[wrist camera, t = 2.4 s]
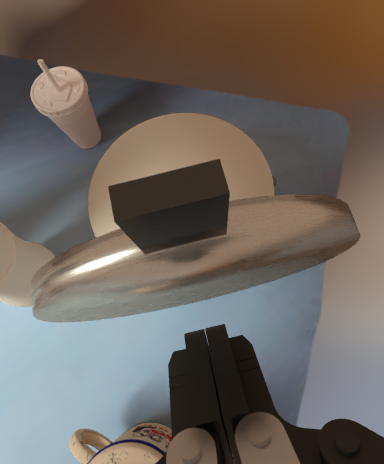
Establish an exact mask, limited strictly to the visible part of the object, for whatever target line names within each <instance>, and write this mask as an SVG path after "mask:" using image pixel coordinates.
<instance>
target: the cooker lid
mask: <svg viewBox="0 0 384 464" xmlns="http://www.w3.org/2000/svg"><path fill="white" fill-rule="evenodd" d="M108 189H109V195H110V200H111V206H112V212H113V217H114V222H115V223H116V224H117V225H118V226H119V227H120V229H117V230H115V231H112V232H109V233H107V234H104V235H102V236H99V237H96V238H94V239H91V240H89V241H87V242H85V243H82V244H80V245H78V246H76V247H74V248H72V249H69V250H67V251H66V252H64V253H62V254H60V255H59V256H57V257H55V258H53V259H52V260H50V261H49V262H48V263H46V264H45V265H43V266H42V267H41V268H40V269H39V270H38V271H37V272H36V273H35V274H34V275H33V276H32V279H31V281H30V288H31V299H32V309H33V316H34V317H35V318H36V319H38V320H42V321H48V322H81V321H92V320H101V319H109V318H116V317H123V316H129V315H135V314H141V313H147V312H152V311H157V310H162V309H167V308H172V307H176V306H181V305H185V304H190V303H194V302H198V301H202V300H207V299H211V298H214V297H218V296H222V295H226V294H230V293H233V292H237V291H240V290H244V289H248V288H251V287H254V286H258V285H261V284H264V283H267V282H270V281H274V280H277V279H280V278H283V277H286V276H288V275H291V274H294V273H297V272H300V271H302V270H305V269H307V268H310V267H312V266H315V265H317V264H320V263H322V262H324V261H327V260H329V259H331V258H333V257H335V256H337V255H339V254H341V253H343V252H344V251H346V250H348V249H349V248H351V247H352V246H353V245H355V244H356V243H357V242H358V240H359V238H360V234H359V231H358V229H357V226H356V223H355V221H354V218H353V216H352V214H351V211H350V209H349V207H348V205H347V204H346V203H345V202H343V201H341V200H340V199H337V198H333V197H330V196H323V195H315V194H287V195H270V196H261V197H253V198H245V199H238V200H232V201H229V198H230V192H229V188H228V185H227V181H226V178H225V175H224V171H223V168H222V164H221V161H220V159H216V160H212V161H208V162H204V163H200V164H196V165H192V166H188V167H184V168H180V169H176V170H172V171H168V172H164V173H160V174H156V175H152V176H148V177H144V178H140V179H136V180H131V181H127V182H123V183H119V184H115V185H111V186H108Z"/></svg>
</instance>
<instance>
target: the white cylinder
mask: <svg viewBox="0 0 384 464" xmlns="http://www.w3.org/2000/svg"><path fill="white" fill-rule="evenodd" d="M216 159H220V161H221V164H222V168H223V171H224V175H225V178H226V181H227V185H228V188H229V192H230V198H229V201H232V200H238V199H245V198H253V197H261V196H270V195H274V187H275V184H276V180H275V179H274V177H273V176H272V174H271V170H270V168H269V165H268V163H267V161H266V158H265V157H264V155H263V153H262V152H261V150H260V149H259V148H258V146H257V145H256V144H255V143H254V141H253V140H252V139H251V138H249V137H248V136H247V135H246V134H245V133H244V132H242V131H241V130H240V129H238V128H237V127H235V126H233V125H232V124H230V123H228V122H226V121H224V120H221V119H218V118H216V117H212V116H208V115H204V114H197V113H174V114H167V115H162V116H158V117H155V118H152V119H149V120H147V121H144V122H142V123H140V124H138V125H136V126H135V127H133V128H131V129H129V130H128V131H127V132H125V133H124V134H123V135H121V136H120V137H119V138H118V139H117V140H116V141H115V142H114V143H113V144H112V145H111V146H110V147H109V148H108V149H107V151H106V152H105V153H104V155H103V156H102V158H101V159H100V161H99V163H98V165H97V167H96V169H95V171H94V173H93V176H92V179H91V183H90V187H89V193H88V212H89V218H90V223H91V226H92V229H93V232H94V234H95V236H96V237H99V236H102V235H104V234H107V233H109V232H112V231H115V230H117V229H120V227H119V226H118V225H117V224H116V223H115V222H114V217H113V212H112V206H111V200H110V195H109V189H108V186H111V185H115V184H119V183H123V182H127V181H131V180H136V179H140V178H144V177H148V176H152V175H156V174H160V173H164V172H168V171H172V170H176V169H180V168H184V167H188V166H192V165H196V164H200V163H204V162H208V161H212V160H216Z"/></svg>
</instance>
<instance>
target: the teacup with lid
mask: <svg viewBox="0 0 384 464" xmlns="http://www.w3.org/2000/svg"><path fill="white" fill-rule="evenodd" d="M171 437H172V429H170V428H169V427H167V426H165V425H162V424H159V423H151V422H150V423H142V424H138V425H136V426H134V427H132V428H130V429H128V430H127V431H126V432H125V433H123V434H122V435H121V436H120V437H119V438H118V439H117V440H116V441H114V442H112V441H110V440H109V439H108V438H106V437H105V436H104V435H102V434H100V433H99V432H96V431H94V430H90V429H79V430H77V431H76V432H75V433H74V434H73V436H72V437H71V439H70V441H69V447H70V450H71V452H72V453H73V455H74V456H75V457H76V458H77V459H78V460H79V461H80V462H81V463H82V464H155V463H156V462H158V461H159V460H160V459H161V458H162V456H163V455H164V454H165V453H166V451H167V449H168V446H169V444H170V442H171ZM86 444H89V445H91V446H93V447H95V448H96V449H98V450H99V452H97V453H95V452H94V451H93V450H92V449H91V448H89V447H88V446H87V445H86Z"/></svg>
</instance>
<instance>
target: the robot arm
mask: <svg viewBox="0 0 384 464" xmlns="http://www.w3.org/2000/svg"><path fill="white" fill-rule="evenodd" d="M206 334H207V338H206V335H205V331H204V329H202V330H198V331H194V332H190V333H186V334H185V344H186V349H183V350H179V351H175V352H173V354H172V357H171V359H170V362H169V364H168V367H169V387H170V406H171V425H172V437H171V442H170V444H169V446H168V449H167V451H166V453H165V454H164V455H163V456H162V458H161V459H160V460H159V461H158V462H156V463H155V464H234V462H233V457H232V452H233V455H234V459H235V463H236V464H384V438H383V437H382V436H380V435H378V434H376V433H375V432H373V431H371V430H369V429H368V428H366V427H364V426H362V425H361V424H359V423H357V422H355V421H351V420H348V419H335V420H332V421H330V422H328V423H327V424H325V425H324V426H323V428H322V429H321V430H318V429H307V428H300V427H296V426H293V425H291V424H289V423H288V422H286V421H285V420H283V419H282V418H281V417H280V416H279V414H278V413H277V411H276V410H275V407H274V405H273V402H272V399H271V396H270V394H269V391H268V388H267V385H266V382H265V380H264V377H263V374H262V371H261V369H260V366H259V363H258V360H257V357H256V354H255V352H254V349H253V346H252V344H251V343H250V342H249V341H248V340H247V339H246V338H245V337H244V336H243V335H240V336H236V337H232V338H228V334H227V331H226V327H225V324H222V325H218V326H214V327H210V328H206ZM207 339H208V342H207ZM208 344H209V346H208ZM209 349H210V350H209ZM228 437H229V438H228ZM229 441H230V442H229ZM230 444H231V447H230ZM231 448H232V452H231Z"/></svg>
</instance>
